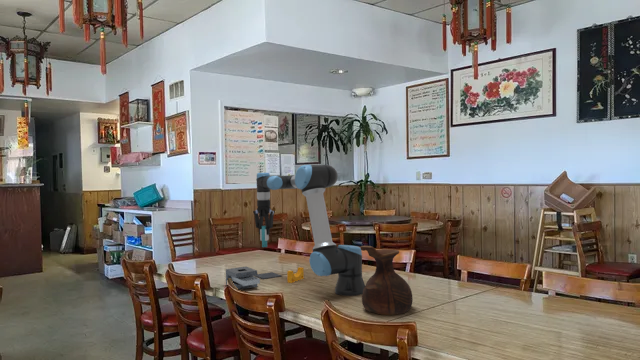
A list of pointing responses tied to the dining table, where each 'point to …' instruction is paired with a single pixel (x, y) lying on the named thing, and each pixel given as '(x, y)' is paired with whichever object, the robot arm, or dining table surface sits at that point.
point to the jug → (385, 286)
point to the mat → (268, 275)
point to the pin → (263, 237)
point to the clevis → (243, 277)
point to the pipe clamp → (295, 275)
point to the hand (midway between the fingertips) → (264, 240)
